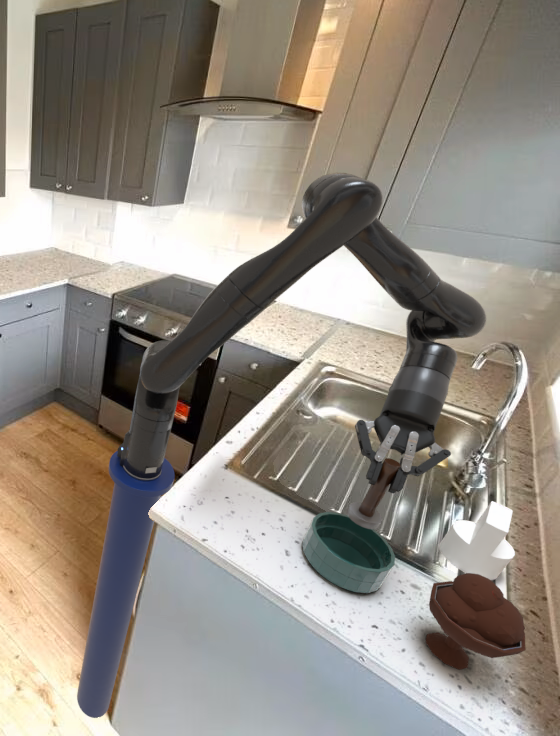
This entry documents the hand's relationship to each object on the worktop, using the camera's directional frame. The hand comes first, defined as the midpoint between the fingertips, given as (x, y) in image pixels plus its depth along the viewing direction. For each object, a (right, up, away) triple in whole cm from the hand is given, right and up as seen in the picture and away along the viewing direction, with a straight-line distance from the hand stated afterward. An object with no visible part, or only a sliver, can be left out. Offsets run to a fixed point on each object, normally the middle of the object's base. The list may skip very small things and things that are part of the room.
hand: (382, 487), depth 72 cm
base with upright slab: (+27, -19, +13) cm, 36 cm away
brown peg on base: (+1, -7, +5) cm, 9 cm away
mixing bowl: (0, -18, +11) cm, 21 cm away
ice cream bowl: (+8, -26, -3) cm, 27 cm away
